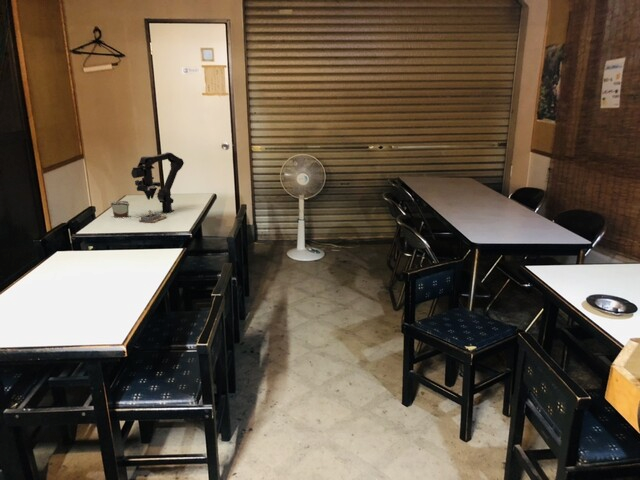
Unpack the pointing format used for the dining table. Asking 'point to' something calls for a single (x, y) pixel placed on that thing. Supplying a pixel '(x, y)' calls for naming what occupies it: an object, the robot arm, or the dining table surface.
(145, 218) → the steel link
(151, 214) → the keeper board
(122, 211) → the food container
